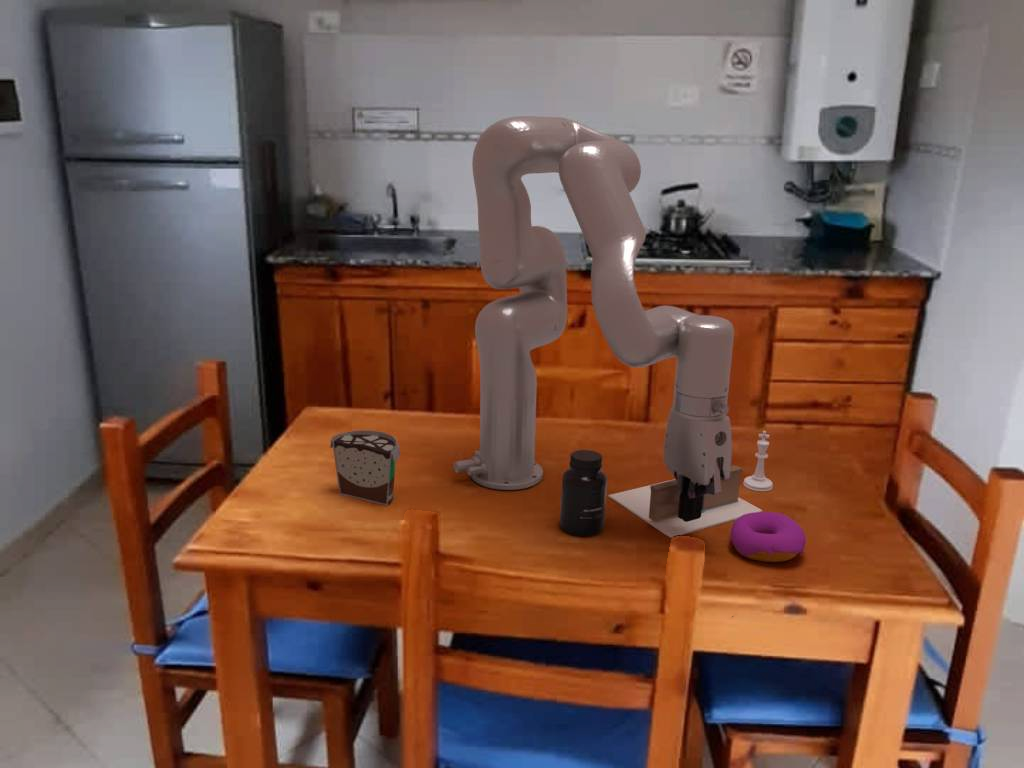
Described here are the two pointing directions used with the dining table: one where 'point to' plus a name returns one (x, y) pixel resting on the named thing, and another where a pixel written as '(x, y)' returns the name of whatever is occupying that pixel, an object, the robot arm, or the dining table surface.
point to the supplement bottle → (583, 494)
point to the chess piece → (759, 468)
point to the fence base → (713, 507)
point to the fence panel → (664, 500)
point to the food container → (366, 464)
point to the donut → (767, 536)
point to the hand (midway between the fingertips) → (689, 517)
